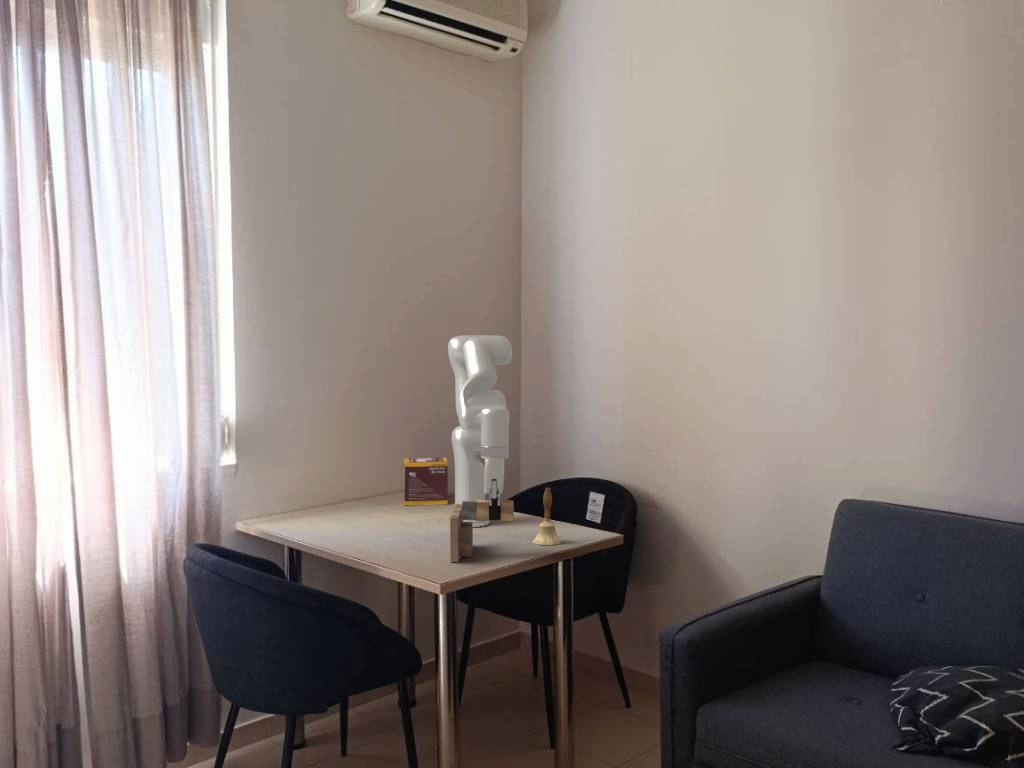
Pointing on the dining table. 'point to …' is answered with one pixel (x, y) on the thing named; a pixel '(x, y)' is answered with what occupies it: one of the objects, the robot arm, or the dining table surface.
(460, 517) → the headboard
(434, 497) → the supplement box
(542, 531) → the hand bell
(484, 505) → the tan and gray block
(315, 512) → the dining table surface
